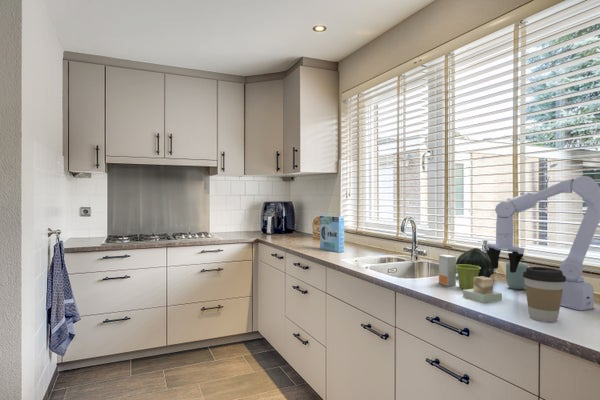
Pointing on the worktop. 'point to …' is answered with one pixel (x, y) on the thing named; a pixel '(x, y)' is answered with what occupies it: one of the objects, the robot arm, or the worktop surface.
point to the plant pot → (467, 275)
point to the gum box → (332, 233)
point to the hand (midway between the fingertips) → (503, 270)
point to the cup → (516, 276)
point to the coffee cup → (544, 292)
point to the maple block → (483, 285)
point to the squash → (477, 261)
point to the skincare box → (447, 270)
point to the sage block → (482, 296)
